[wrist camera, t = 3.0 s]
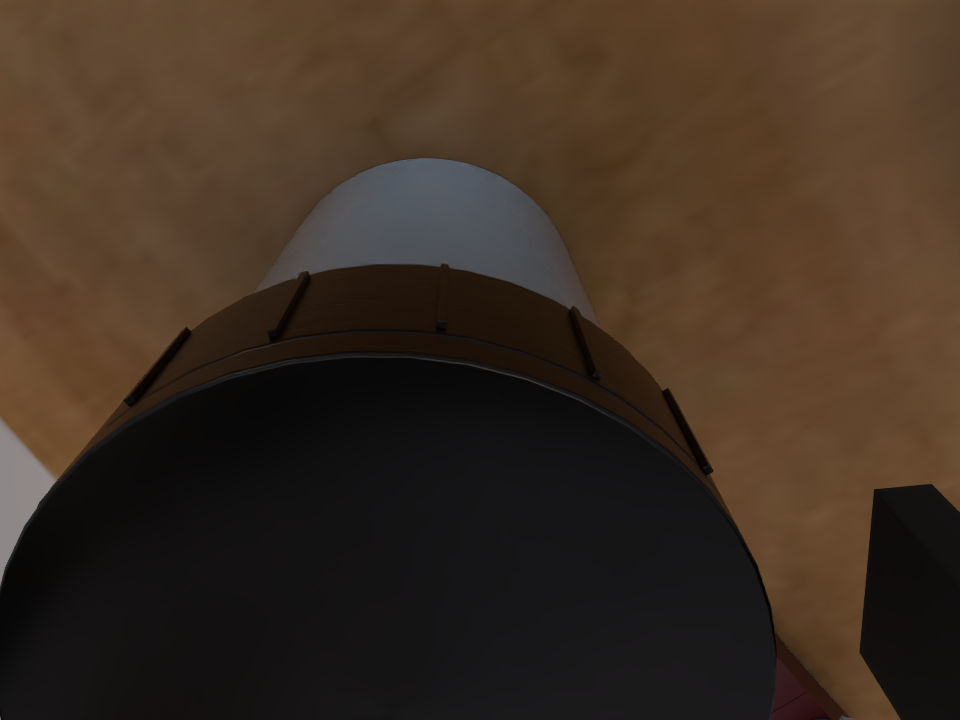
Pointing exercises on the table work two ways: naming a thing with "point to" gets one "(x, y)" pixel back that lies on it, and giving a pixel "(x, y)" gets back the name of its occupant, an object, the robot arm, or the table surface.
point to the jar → (435, 229)
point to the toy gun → (800, 692)
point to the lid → (388, 526)
